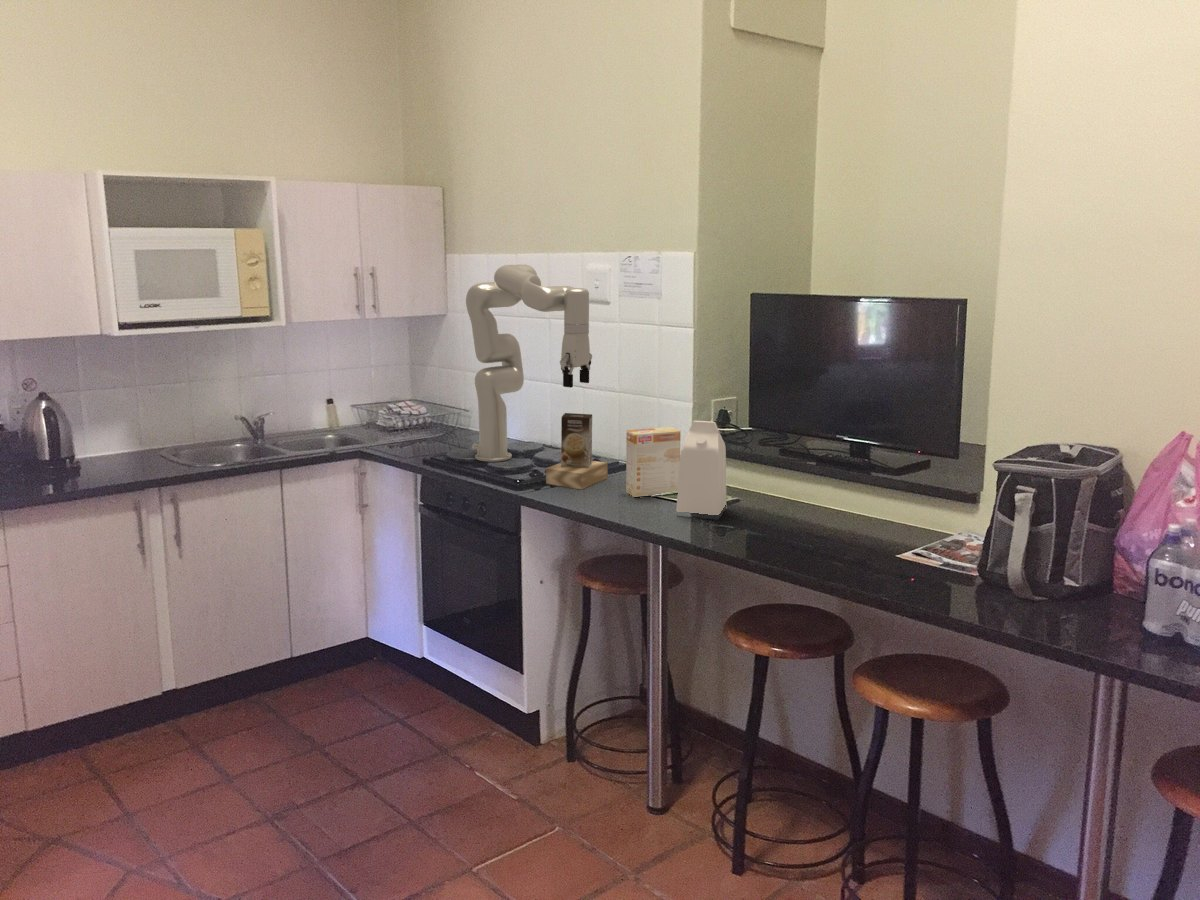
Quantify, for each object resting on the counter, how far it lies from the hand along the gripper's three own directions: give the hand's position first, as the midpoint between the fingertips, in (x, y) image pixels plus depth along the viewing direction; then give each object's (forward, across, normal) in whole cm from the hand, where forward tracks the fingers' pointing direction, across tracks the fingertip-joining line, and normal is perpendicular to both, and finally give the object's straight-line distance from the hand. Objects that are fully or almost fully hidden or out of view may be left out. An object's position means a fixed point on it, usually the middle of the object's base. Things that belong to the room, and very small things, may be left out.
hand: (576, 384), depth 298 cm
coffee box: (+26, 0, 0) cm, 26 cm away
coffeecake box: (+31, +1, +28) cm, 41 cm away
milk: (+30, +12, +48) cm, 58 cm away
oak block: (+31, 0, 0) cm, 31 cm away
